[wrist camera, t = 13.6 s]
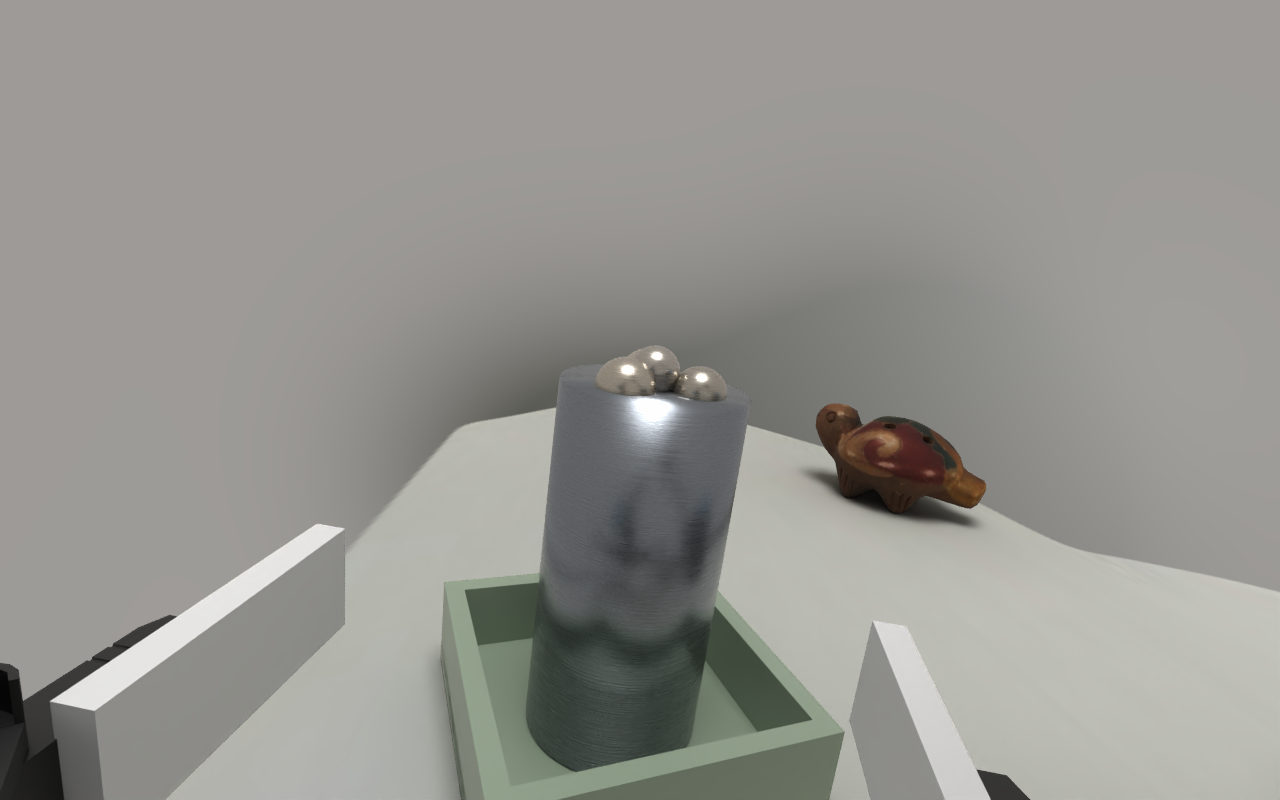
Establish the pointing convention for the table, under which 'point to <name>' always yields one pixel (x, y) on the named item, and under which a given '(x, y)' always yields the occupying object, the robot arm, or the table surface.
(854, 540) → the table surface
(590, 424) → the can
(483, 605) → the bin
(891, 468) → the decorative turtle
